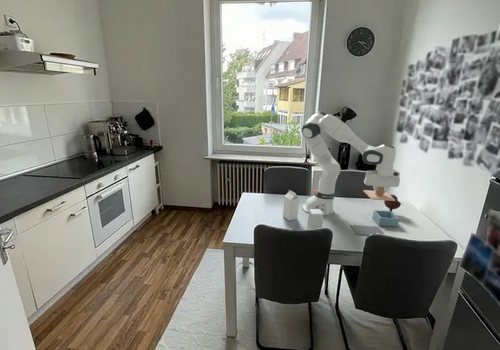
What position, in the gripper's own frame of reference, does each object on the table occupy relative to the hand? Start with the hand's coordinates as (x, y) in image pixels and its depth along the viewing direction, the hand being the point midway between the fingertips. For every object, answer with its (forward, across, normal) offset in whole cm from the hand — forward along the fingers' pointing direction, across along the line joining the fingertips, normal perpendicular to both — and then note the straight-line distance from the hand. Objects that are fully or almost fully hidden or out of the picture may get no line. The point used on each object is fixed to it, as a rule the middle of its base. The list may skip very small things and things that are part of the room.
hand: (379, 192), depth 172 cm
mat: (+25, -4, -4) cm, 26 cm away
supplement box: (+26, -38, -6) cm, 47 cm away
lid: (+2, 0, 0) cm, 2 cm away
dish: (+25, +12, +10) cm, 29 cm away
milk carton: (+26, -52, +9) cm, 59 cm away
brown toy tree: (+25, +22, +24) cm, 41 cm away
